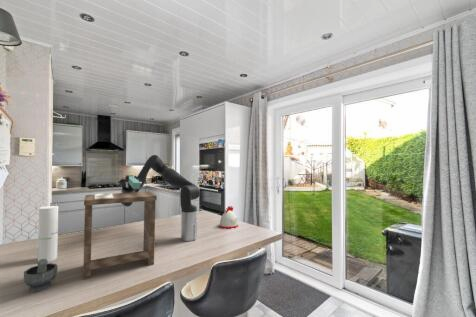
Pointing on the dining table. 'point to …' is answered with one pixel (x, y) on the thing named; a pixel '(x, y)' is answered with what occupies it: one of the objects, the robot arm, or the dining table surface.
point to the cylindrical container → (48, 233)
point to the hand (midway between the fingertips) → (131, 177)
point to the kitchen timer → (228, 219)
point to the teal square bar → (134, 182)
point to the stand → (148, 229)
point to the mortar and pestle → (40, 275)
